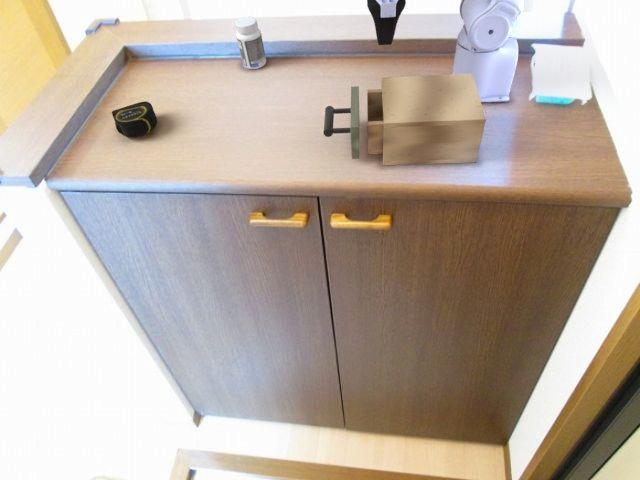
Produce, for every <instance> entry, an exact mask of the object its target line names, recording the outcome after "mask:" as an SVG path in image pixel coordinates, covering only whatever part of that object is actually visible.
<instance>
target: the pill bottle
mask: <svg viewBox="0 0 640 480" xmlns="http://www.w3.org/2000/svg"><path fill="white" fill-rule="evenodd" d="M235 28H236V33H235V34H236V35H235V36H236V41H237V45H238V49H239V54H240V58H241V61H242V66H243V67H244V68H245V69H248V70H258V69H261V68H262V67H264V66H265V65H266V64H267V56H266V52H265V51H266V50H265V46H264V41H263V36H262V32H261V29H260V28H259V25H258V21H257V18H256V17H254V16H243V17H240V18H239V19H237V20H236V21H235Z"/></svg>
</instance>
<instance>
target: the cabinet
mask: <svg viewBox="0 0 640 480" xmlns="http://www.w3.org/2000/svg"><path fill="white" fill-rule="evenodd" d="M380 89H382V103H383V120H384V136H383V154H381V155H382V165H383V166H406V165H408V166H409V165H436V164H437V165H441V164H442V165H443V164H473V163H477V160H478V156H479V152H480V147H481V144H482V138H483V135H484V130H485V126H486V122H487V118H486V115H485V112H484V108H483V105H482V104H483V103H481V101H480V97H479V94H478V91H477V87H476V84H475V81H474V77H473V74H472V73H468V74H452V73H450V74H448V73H447V74H430V75H411V76H407V75H406V76H392V77H391V76H390V77H389V76H388V77H381V78H380Z"/></svg>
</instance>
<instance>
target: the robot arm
mask: <svg viewBox="0 0 640 480" xmlns="http://www.w3.org/2000/svg"><path fill="white" fill-rule="evenodd" d="M406 1H407V0H366V5H367V9H368V11H369V13H370V15H371V17H372V20H373V23H374V28H375V34H376V40H377V44H378V46H390V45H392V44H393V42H394V37H395V33H396V29H397V25H398V21H399V20H400V17H401V15H402V12H403V11H404V9H405V7H406V4H407V2H406ZM525 3H526V0H461V1H460V4H459V15H460V18H461V20H462V21H463V26H462V28H461V30H460V31H459V32H458V34H457V38H456V46H455V51H454V52H455V53H454V58H453V59H454V60H453V65H452V66H453V67H452V73H451V74H468V73H472V74H473V77H474V81H475V84H476V87H477V91H478V94H479V97H480V101H481V104H483V103H505V102H509V101H510V92H511V89H512V85H513V82H514V81H513V80H514V76H515V73H516V69H517V64H518V60H519V59H518V58H519V44H518V43H519V42H518V41H517V38H516V37H513V36H511V35H512V32H513V30H514V25H515V23H516V21H517V19H518V18H519V17H520V15H521V14H522V13H523V11H524V8H525Z"/></svg>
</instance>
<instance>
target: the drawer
mask: <svg viewBox="0 0 640 480" xmlns="http://www.w3.org/2000/svg"><path fill="white" fill-rule="evenodd" d="M366 94H367V96H366V97H367V98H366V100H367V105H366V107H367V109H366V110H367V111H366V112H367V153H368V155H378V154H381V155H382V154H383V136H384V120H383V103H382V89H381V88H374V89H373V88H371V89H367V90H366ZM342 114H350V124H349V125H350V126H349V127H334V123H335V122H334V119H335V115H342ZM323 119H324V121H323V136H324V137H327V138H330V137H333V134H350V149H351V150H350V152H351V153H350V154H351V160H360V159H361V158H360V157H361V153H360V152H361V151H360V149H361V148H360V145H361V142H360V141H361V139H360V137H361V136H360V135H361V133H360V131H361V130H360V128H361V127H360V125H361V124H360V121H361V120H360V119H361V117H360V86H358V85H357V86H350V107H343V108H342V107H341V108H334V106H332V105H327V106H326V107H325V109H324V118H323Z"/></svg>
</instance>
